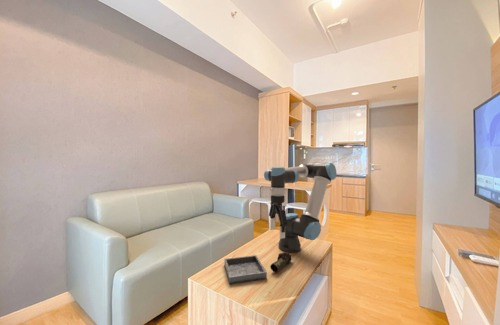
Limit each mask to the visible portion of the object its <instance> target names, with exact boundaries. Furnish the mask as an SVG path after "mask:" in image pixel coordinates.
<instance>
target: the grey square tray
mask: <svg viewBox="0 0 500 325" xmlns="http://www.w3.org/2000/svg"><path fill="white" fill-rule="evenodd" d="M223 265H224V268H225V272H226V273H225V274H226V277H227V281H228V283H229V286H231V285H236V284H243V283H244V284H245V283H250V282H255V281H263V280H267V277H268V276H267V271H266V269H265V267H264V266H263V264H262V262H261V261H260V259H259V257H258V256H257V255H255V254H254V255H245V256H240V257H239V256H238V257H231V258H224V264H223Z"/></svg>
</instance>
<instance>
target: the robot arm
mask: <svg viewBox="0 0 500 325" xmlns="http://www.w3.org/2000/svg"><path fill="white" fill-rule="evenodd" d="M263 177H264V180H266V181H267V182H270V190H269V191H270V194H271V195H270V209H269V213H268V217H270V223H269V224H270V225H269V226H270V227H269V228H270V231H272V230H273V231H274V230H276V215H277V217H278V220H279V241H278V245H277V246H278V249H279V250H281V251H283V252H285V253H296V252H299V251H301V249H302V245H301V241H300V239H299V237H301V238H303V239H306V240H309V241H314V240H316V239H317V238H319V236H320V234H321V231H322V225H321V223H320V219H319V215H320V212H321V209H322V204H323V201H324V198H325V194H326V191H327V188H328V187H327V186H328V185H329V184H331V183H332V181H334V180H336V178H337V168H336V166H335V164H334V163H333V162H327V161H326V162H308V163H304V164H300V165H298V166H291V167H284V166H272V167H271V169H266V170H265V171H264V173H263ZM300 178H307V179H308V178H309V179H313V180H314V182H313V185H312V189H311V192H310V196H309V197H308V201H307V204H306V208H305V211H304V212H303V213H301V215H300V217H299V213H294V212H292V213H291V212H289V213H286V207H285V205H283V203H285V199H286V198H285V194H286V193H285V192H286V188H285V186H286V184H294V183H297V182H299V179H300Z"/></svg>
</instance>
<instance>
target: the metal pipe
mask: <svg viewBox="0 0 500 325" xmlns="http://www.w3.org/2000/svg"><path fill="white" fill-rule="evenodd" d="M292 260H293V259H292V254H290V252H281V253H279V254H278V255H277V260H275V261H274V262H273V263H271V264H270V266H269V267H270V269H271V271H272V272H273V273H278V272H279V271H281V269H282V268H283V267H285V265H287V264H290V263H291V261H292Z"/></svg>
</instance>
